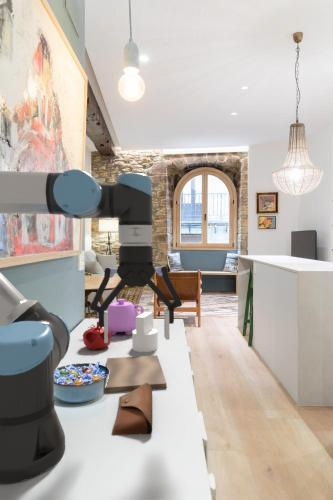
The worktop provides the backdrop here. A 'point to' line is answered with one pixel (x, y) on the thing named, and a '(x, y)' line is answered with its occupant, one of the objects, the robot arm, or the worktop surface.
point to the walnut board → (134, 373)
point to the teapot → (122, 316)
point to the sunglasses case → (134, 412)
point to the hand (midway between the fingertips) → (136, 339)
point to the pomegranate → (95, 338)
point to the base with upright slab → (144, 334)
